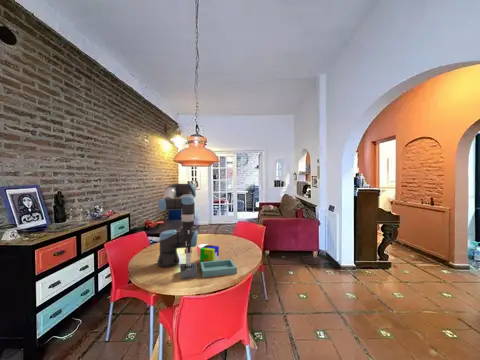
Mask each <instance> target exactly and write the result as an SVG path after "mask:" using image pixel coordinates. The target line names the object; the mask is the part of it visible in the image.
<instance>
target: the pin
mask: <svg viewBox="0 0 480 360" xmlns="http://www.w3.org/2000/svg"><path fill="white" fill-rule="evenodd" d="M192 253H193V248H191V254H192ZM184 254H185V264H186V268H191V263H192V257H191V258H187V249H186V248H184Z"/></svg>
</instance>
